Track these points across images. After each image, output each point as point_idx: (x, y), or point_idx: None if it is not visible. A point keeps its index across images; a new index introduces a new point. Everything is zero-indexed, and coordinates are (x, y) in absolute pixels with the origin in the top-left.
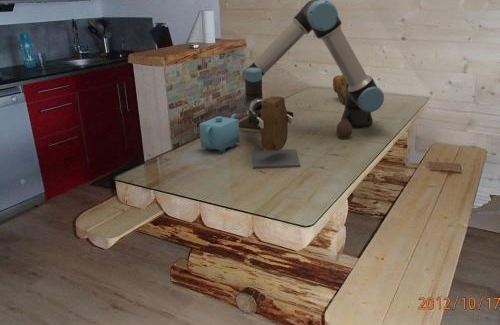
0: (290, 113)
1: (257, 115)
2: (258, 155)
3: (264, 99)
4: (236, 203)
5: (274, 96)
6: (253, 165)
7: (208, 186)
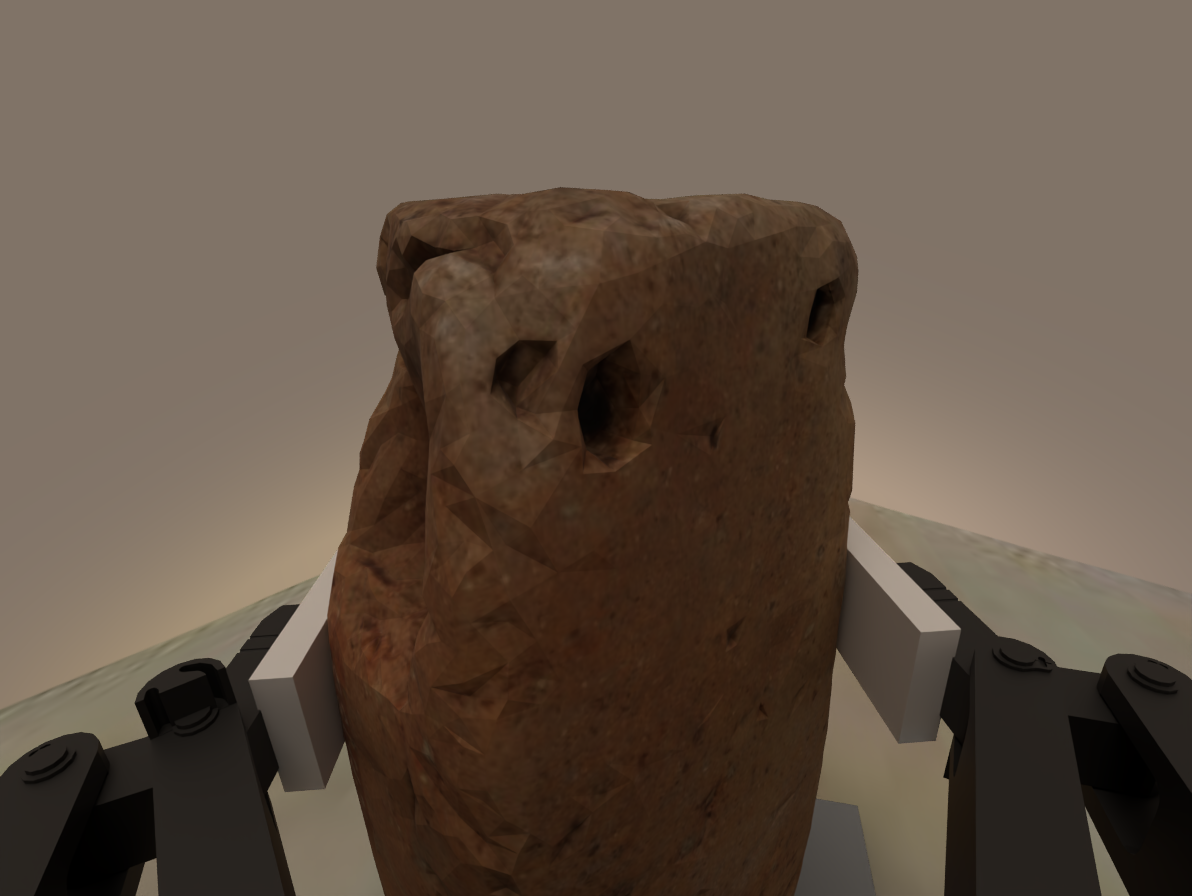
0: (101, 760)
1: (1000, 766)
2: None
3: (804, 203)
4: (862, 516)
5: (526, 195)
6: (859, 830)
7: (1086, 637)
